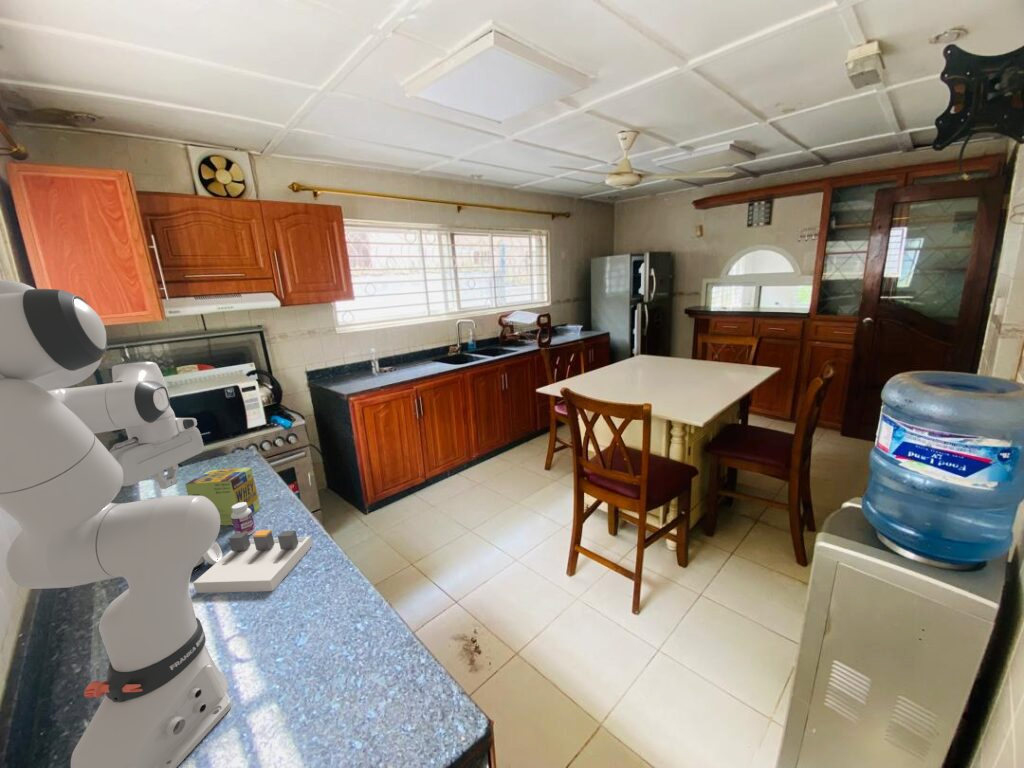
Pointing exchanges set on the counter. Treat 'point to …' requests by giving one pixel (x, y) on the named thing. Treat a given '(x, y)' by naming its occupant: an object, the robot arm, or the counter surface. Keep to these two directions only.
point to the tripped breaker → (263, 539)
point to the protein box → (226, 490)
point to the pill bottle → (242, 519)
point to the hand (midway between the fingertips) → (169, 486)
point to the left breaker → (239, 541)
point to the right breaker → (288, 540)
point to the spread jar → (210, 556)
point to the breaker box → (252, 568)
